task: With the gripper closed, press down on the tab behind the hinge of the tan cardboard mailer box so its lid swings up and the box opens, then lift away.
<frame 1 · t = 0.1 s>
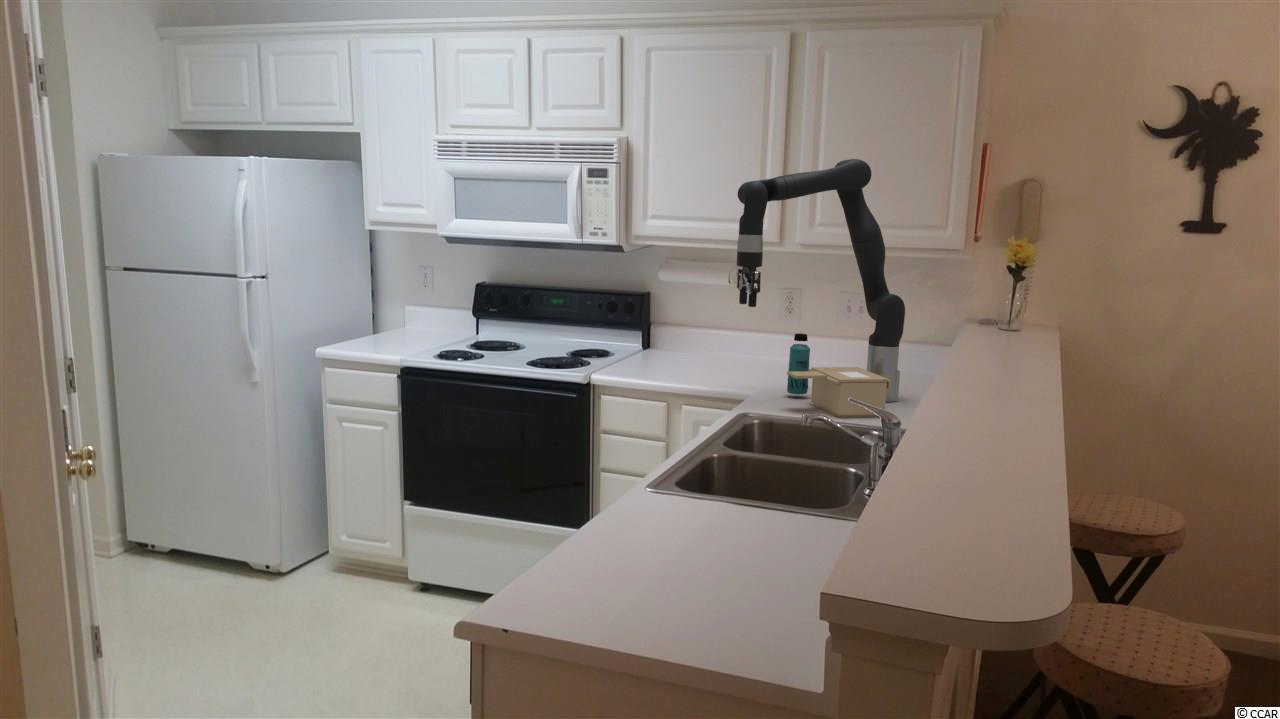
hand: (747, 305, 279), 29 cm above the table, tool pointing down, fingers open, 8 cm apart
lid: (833, 377, 274), point 10 cm above the table, hinge at 0.0°
beverage bottle: (797, 397, 294), on the table
mailer box: (846, 410, 276), on the table
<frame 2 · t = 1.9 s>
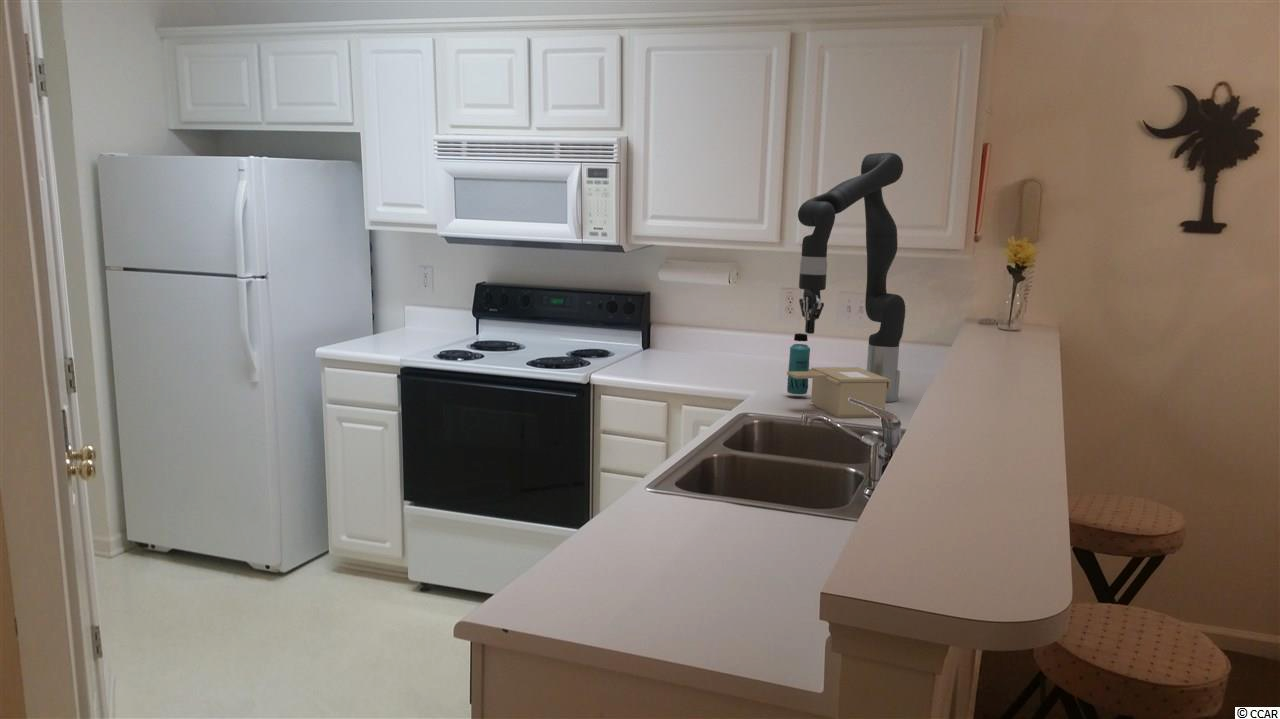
hand: (809, 333, 270), 23 cm above the table, tool pointing down, fingers closed
nothing on the table moved.
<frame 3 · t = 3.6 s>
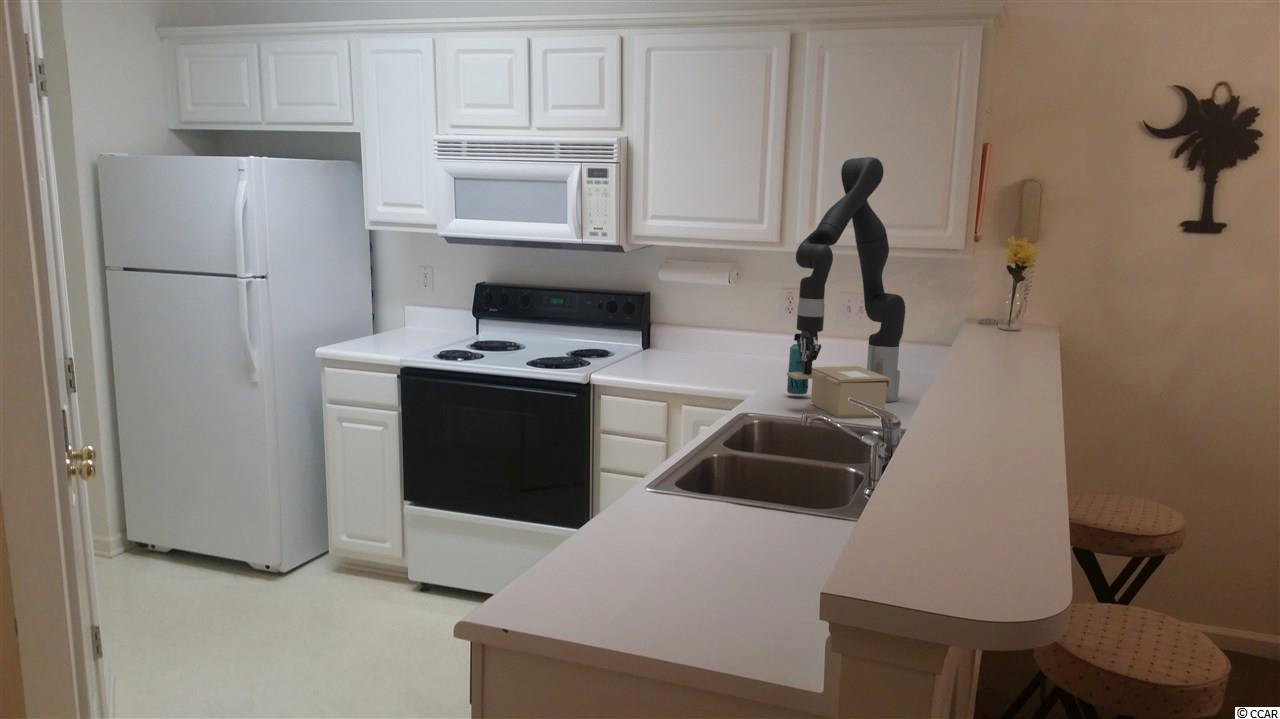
hand: (806, 373, 272), 11 cm above the table, tool pointing down, fingers closed
lid: (833, 377, 274), point 10 cm above the table, hinge at 1.5°, touching gripper
everything else where it was.
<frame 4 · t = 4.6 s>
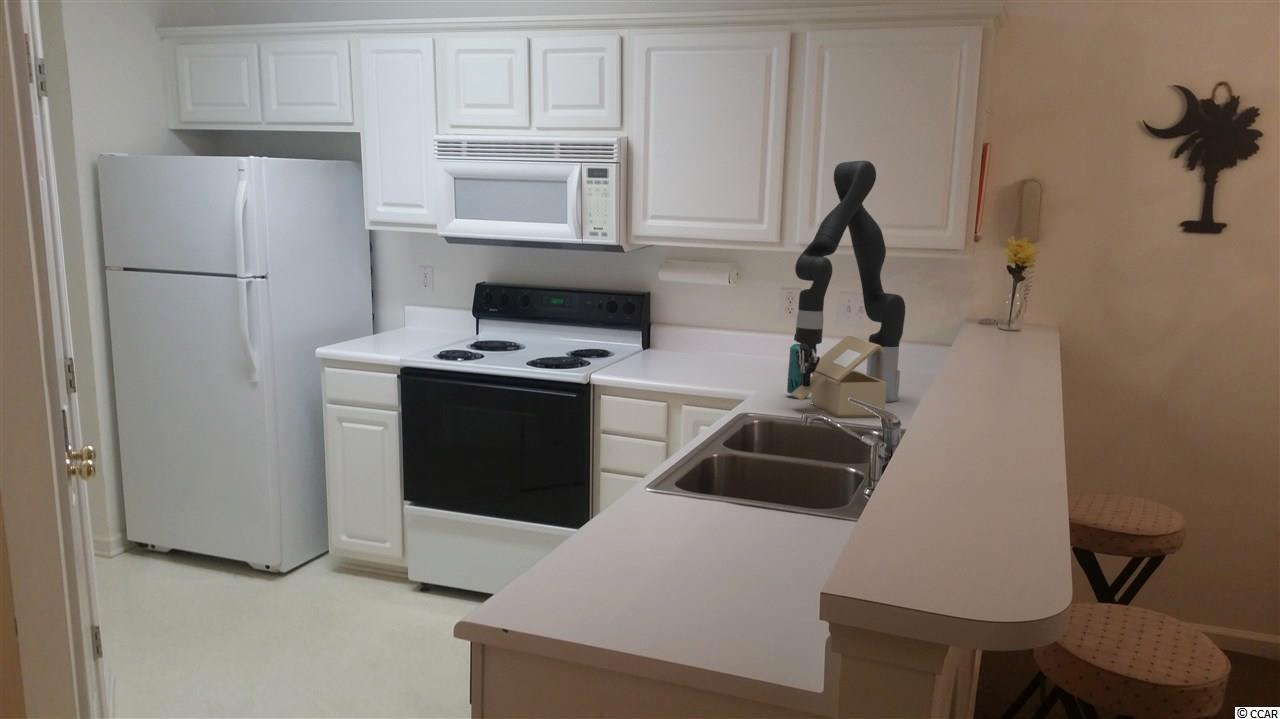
hand: (805, 385, 272), 7 cm above the table, tool pointing down, fingers closed
lid: (832, 371, 273), point 12 cm above the table, hinge at 39.7°, touching gripper
everything else where it was.
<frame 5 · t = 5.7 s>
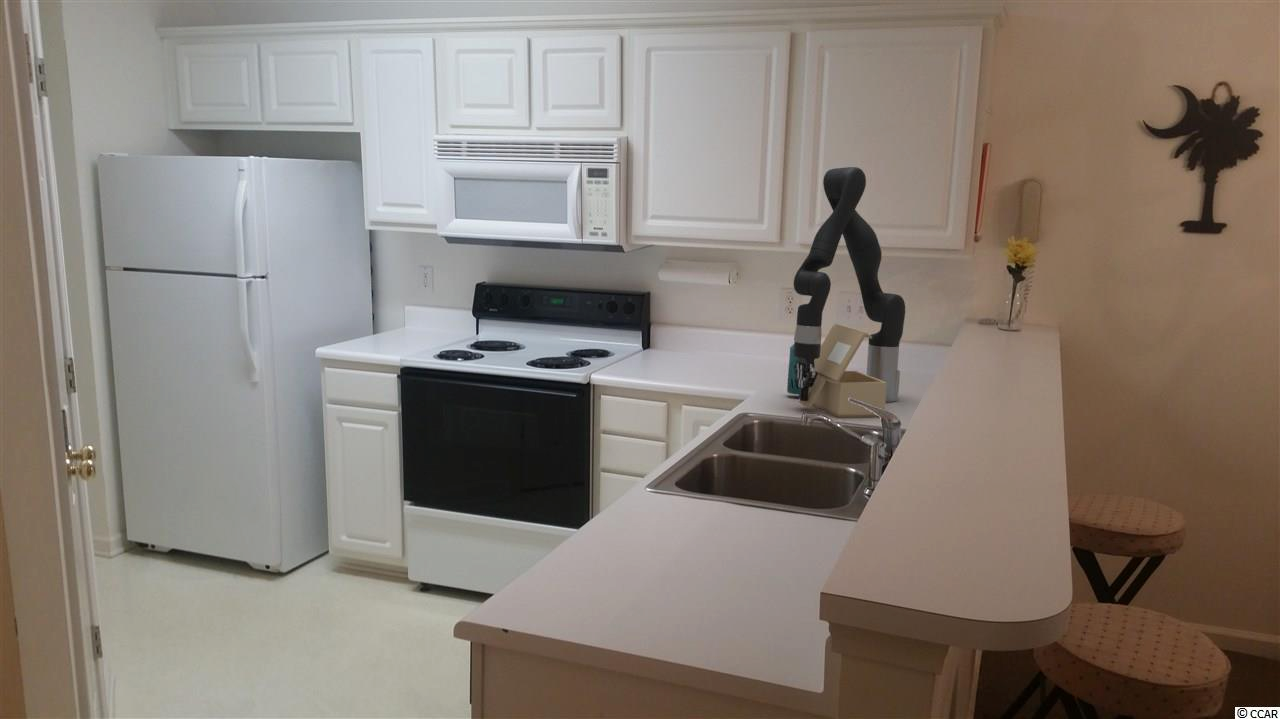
hand: (803, 400, 273), 3 cm above the table, tool pointing down, fingers closed
lid: (829, 368, 273), point 12 cm above the table, hinge at 60.6°, touching gripper
everything else where it was.
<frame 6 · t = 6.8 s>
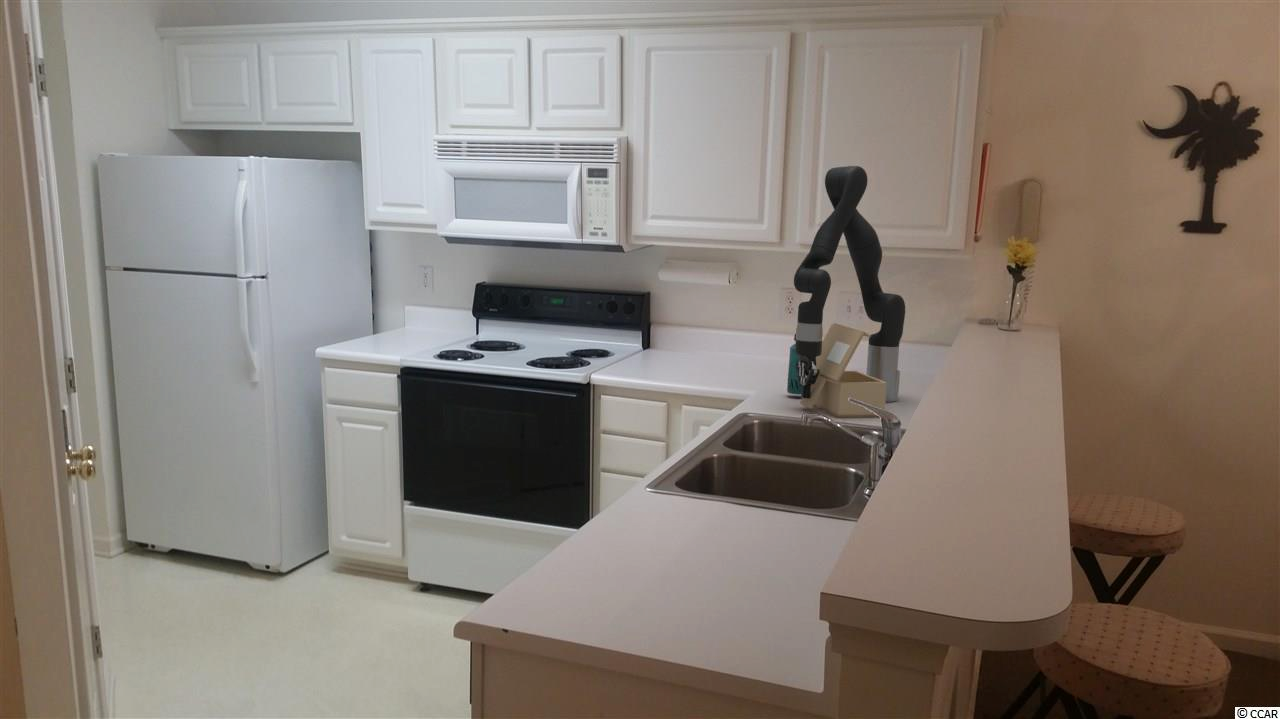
hand: (805, 397, 273), 4 cm above the table, tool pointing down, fingers closed
lid: (829, 368, 273), point 13 cm above the table, hinge at 62.8°
everything else where it was.
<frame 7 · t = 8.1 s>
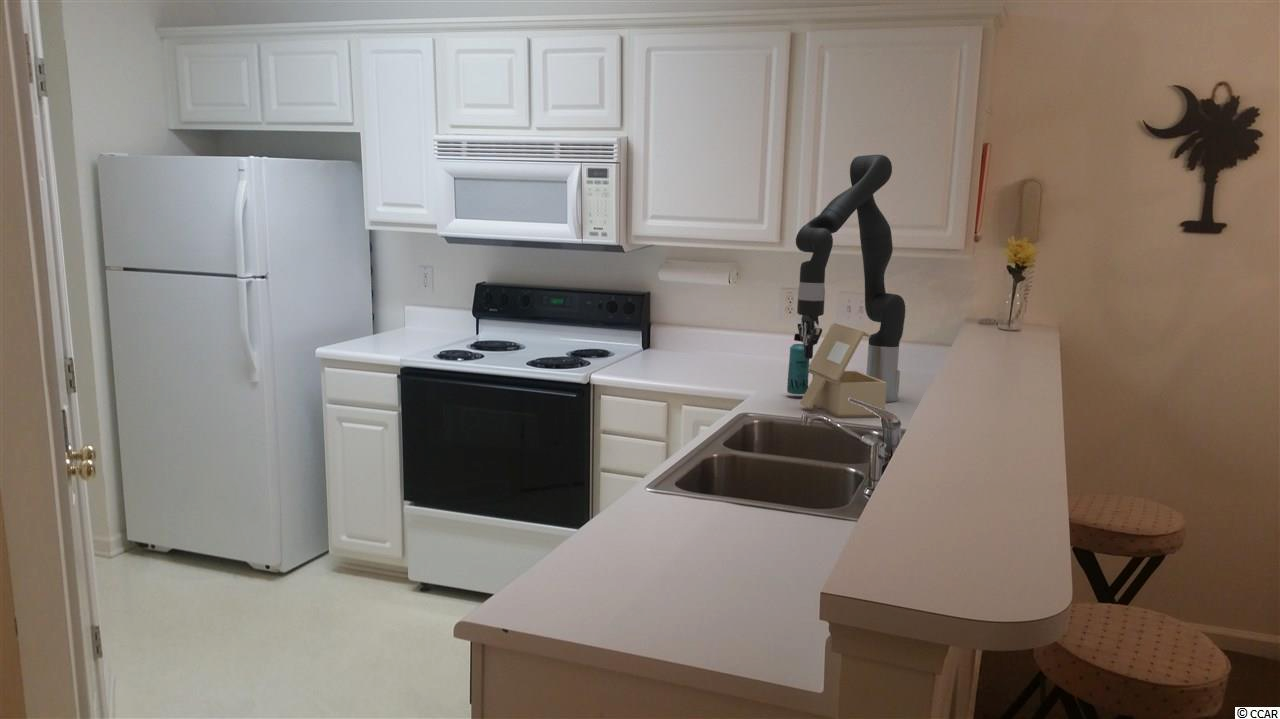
hand: (807, 358, 271), 15 cm above the table, tool pointing down, fingers closed
nothing on the table moved.
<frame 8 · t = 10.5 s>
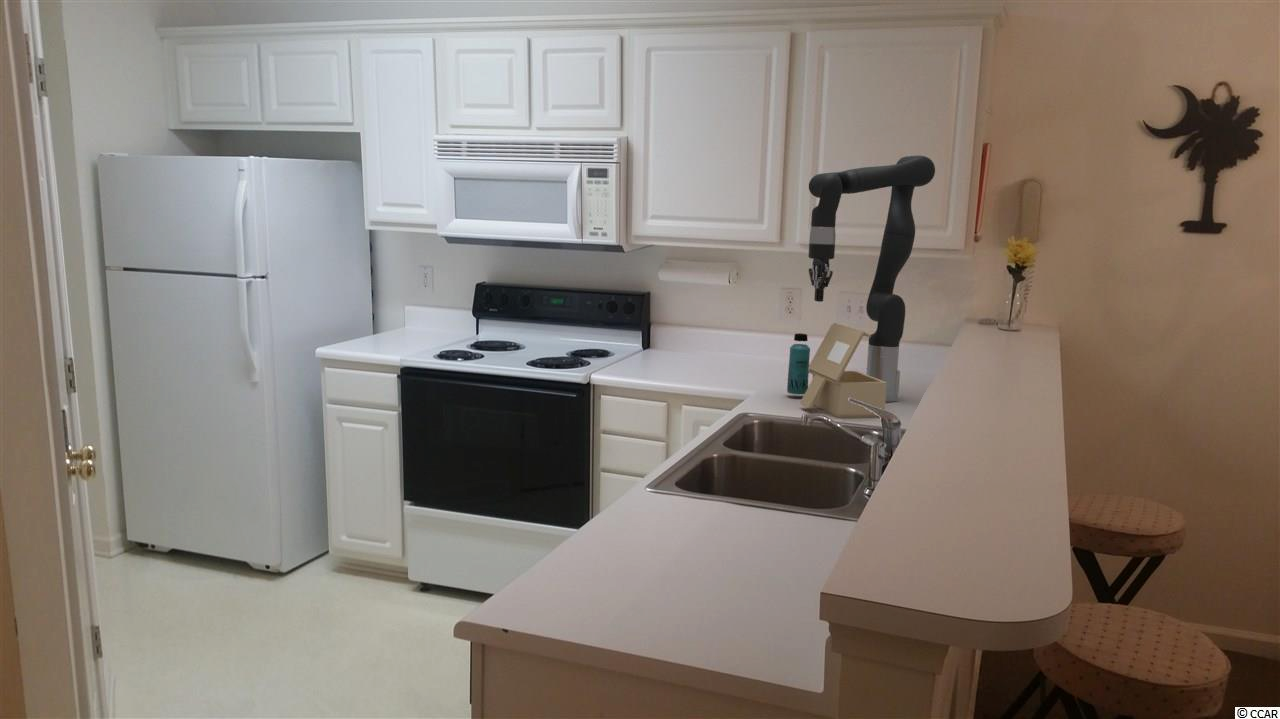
hand: (818, 301, 280), 31 cm above the table, tool pointing down, fingers closed
nothing on the table moved.
at the end: lid at +63° (first picture: +0°) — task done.
